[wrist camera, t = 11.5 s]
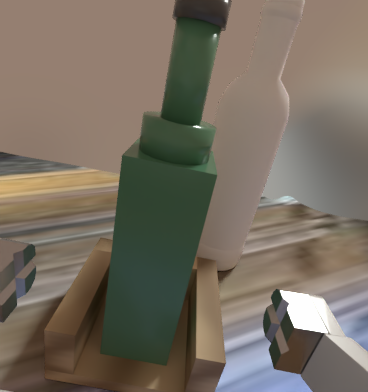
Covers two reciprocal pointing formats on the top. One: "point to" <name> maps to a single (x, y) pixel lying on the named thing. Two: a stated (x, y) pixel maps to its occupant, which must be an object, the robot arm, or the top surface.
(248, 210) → the bottle
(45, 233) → the top surface
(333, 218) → the top surface
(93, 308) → the oak rest
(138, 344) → the green bottle
